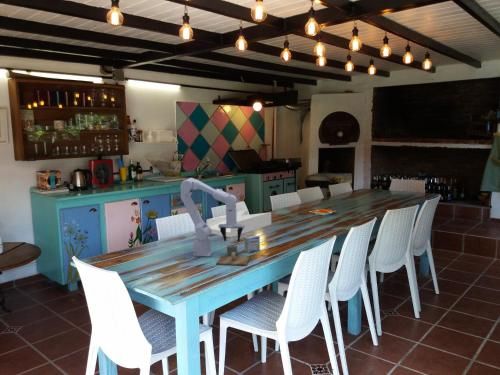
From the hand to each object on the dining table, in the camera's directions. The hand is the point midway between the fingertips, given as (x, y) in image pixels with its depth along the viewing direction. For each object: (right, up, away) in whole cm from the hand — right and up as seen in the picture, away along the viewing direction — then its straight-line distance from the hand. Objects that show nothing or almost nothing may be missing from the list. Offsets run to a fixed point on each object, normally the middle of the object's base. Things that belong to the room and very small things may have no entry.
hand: (231, 240), depth 225 cm
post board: (+1, -10, -10) cm, 14 cm away
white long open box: (+3, 0, +64) cm, 64 cm away
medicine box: (+11, -7, +8) cm, 16 cm away
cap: (0, -8, +1) cm, 8 cm away
